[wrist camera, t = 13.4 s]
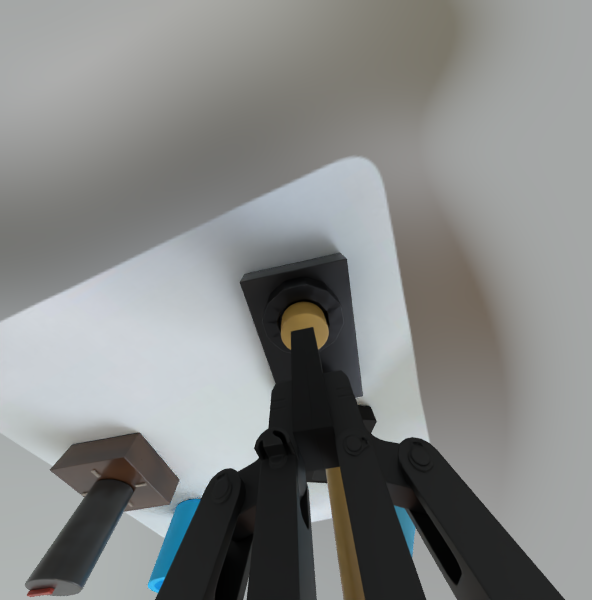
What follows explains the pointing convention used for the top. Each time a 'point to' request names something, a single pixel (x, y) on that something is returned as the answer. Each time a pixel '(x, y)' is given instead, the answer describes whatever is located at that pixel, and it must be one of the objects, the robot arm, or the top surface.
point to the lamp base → (306, 288)
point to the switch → (304, 322)
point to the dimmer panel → (119, 469)
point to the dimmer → (80, 541)
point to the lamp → (344, 538)
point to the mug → (172, 541)
